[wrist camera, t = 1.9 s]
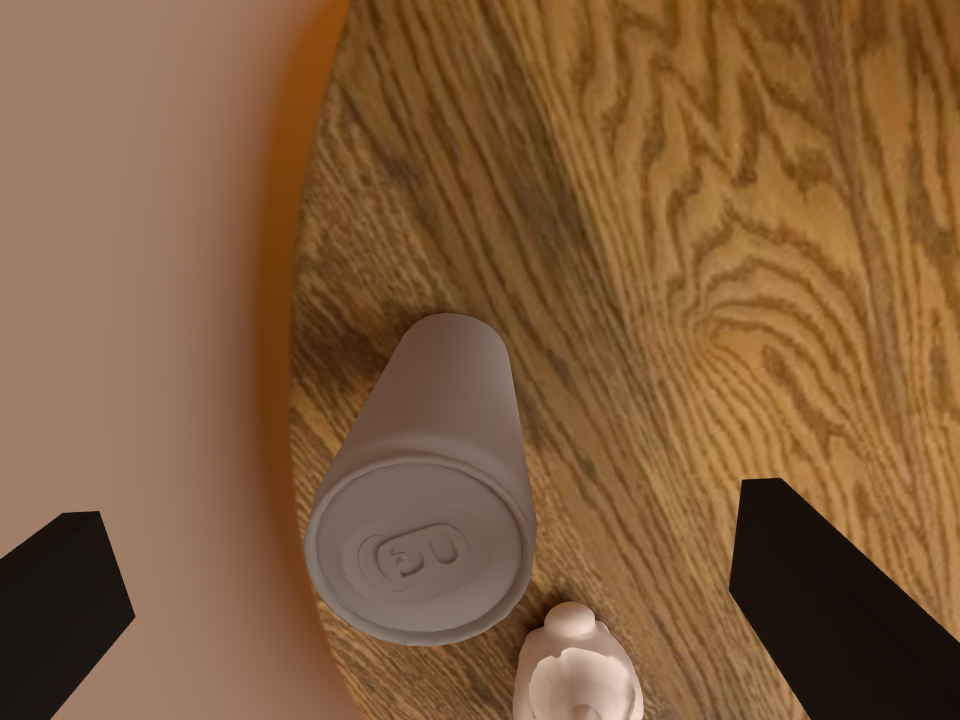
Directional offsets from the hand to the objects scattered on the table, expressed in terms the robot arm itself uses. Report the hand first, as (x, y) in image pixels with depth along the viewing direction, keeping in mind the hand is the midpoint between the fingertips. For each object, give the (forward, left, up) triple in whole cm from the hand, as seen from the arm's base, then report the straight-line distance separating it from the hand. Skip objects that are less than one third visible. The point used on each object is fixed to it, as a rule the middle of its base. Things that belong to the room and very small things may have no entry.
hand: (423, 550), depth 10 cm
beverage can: (0, 0, -12) cm, 12 cm away
